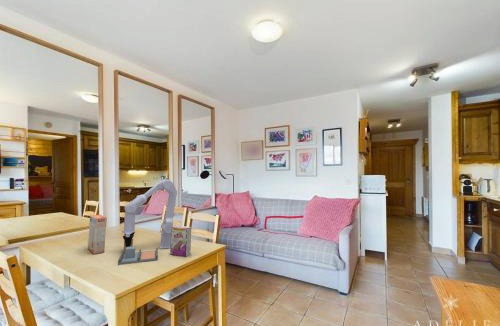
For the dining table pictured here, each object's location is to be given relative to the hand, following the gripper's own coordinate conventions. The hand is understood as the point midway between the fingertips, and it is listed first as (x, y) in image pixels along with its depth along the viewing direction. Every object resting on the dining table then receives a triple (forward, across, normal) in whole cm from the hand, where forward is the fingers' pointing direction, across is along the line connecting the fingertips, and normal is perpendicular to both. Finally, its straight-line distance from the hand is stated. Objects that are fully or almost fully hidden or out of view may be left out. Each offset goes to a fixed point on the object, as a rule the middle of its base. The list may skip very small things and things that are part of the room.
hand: (128, 246), depth 135 cm
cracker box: (+4, -8, -18) cm, 20 cm away
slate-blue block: (+2, +13, +2) cm, 13 cm away
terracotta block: (+2, 0, 0) cm, 2 cm away
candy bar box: (+4, +15, +29) cm, 33 cm away
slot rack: (+3, +13, +7) cm, 15 cm away
